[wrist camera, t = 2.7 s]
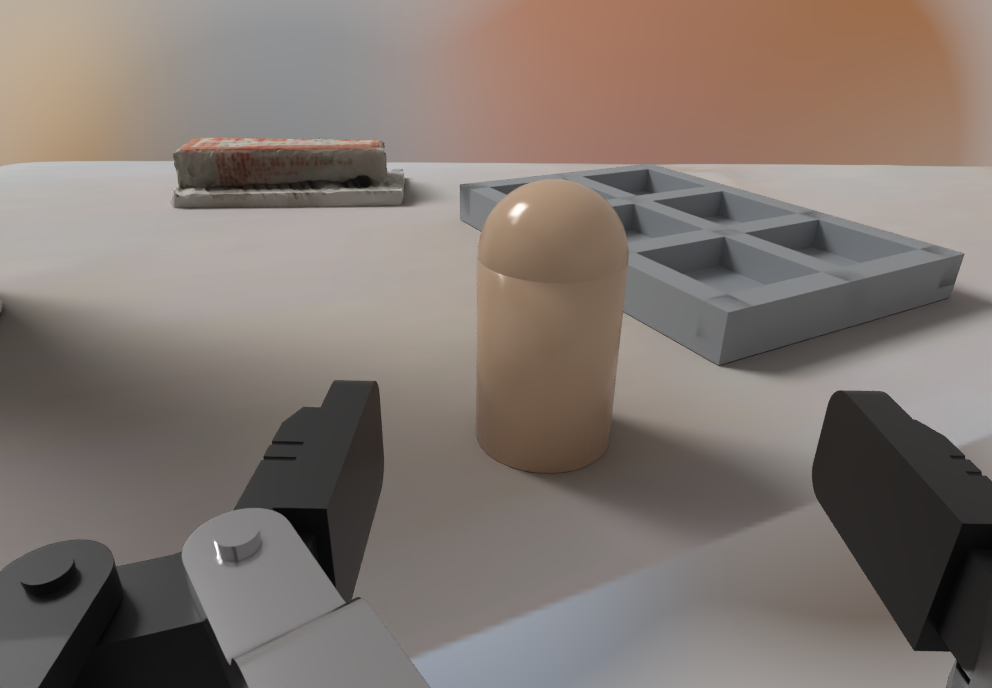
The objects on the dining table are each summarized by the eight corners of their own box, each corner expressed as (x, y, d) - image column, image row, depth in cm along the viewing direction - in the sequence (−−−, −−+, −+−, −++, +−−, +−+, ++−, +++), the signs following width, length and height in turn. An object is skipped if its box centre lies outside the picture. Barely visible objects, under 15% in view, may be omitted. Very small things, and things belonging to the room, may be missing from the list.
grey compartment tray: (460, 219, 52) (459, 184, 50) (646, 194, 60) (650, 163, 58) (718, 365, 31) (727, 312, 30) (950, 297, 39) (964, 253, 38)
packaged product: (157, 150, 51) (194, 129, 60) (169, 214, 53) (203, 184, 62) (402, 149, 53) (402, 128, 62) (404, 211, 55) (405, 182, 64)
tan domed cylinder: (453, 417, 27) (450, 172, 23) (560, 388, 29) (575, 159, 25) (519, 489, 23) (530, 208, 19) (637, 448, 25) (670, 189, 21)
